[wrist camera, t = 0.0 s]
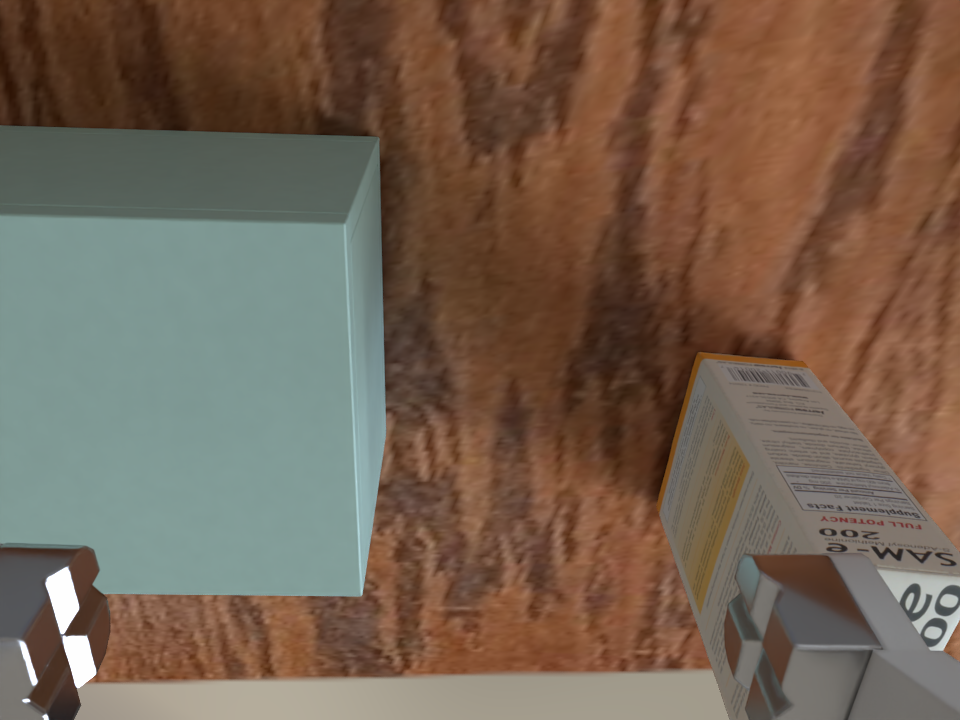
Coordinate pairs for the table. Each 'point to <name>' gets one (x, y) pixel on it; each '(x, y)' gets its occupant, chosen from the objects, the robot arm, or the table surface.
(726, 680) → the supplement box
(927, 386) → the table surface
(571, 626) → the table surface
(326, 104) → the table surface
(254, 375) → the mint green drawer box
